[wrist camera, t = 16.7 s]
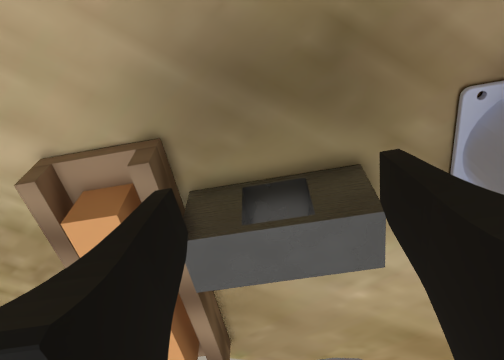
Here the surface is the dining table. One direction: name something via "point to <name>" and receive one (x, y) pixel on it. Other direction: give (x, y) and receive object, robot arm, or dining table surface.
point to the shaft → (102, 224)
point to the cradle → (145, 182)
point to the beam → (284, 229)
